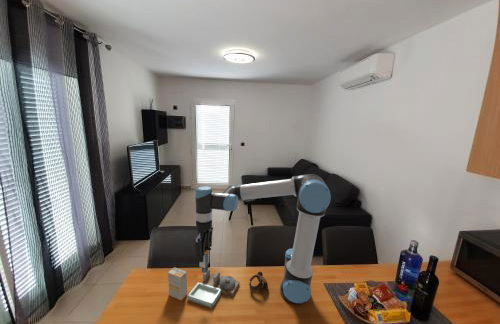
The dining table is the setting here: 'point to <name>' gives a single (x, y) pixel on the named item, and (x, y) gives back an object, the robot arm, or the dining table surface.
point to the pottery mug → (261, 282)
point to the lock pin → (206, 260)
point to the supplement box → (177, 283)
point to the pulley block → (221, 282)
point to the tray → (204, 295)
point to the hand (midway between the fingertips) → (204, 264)
